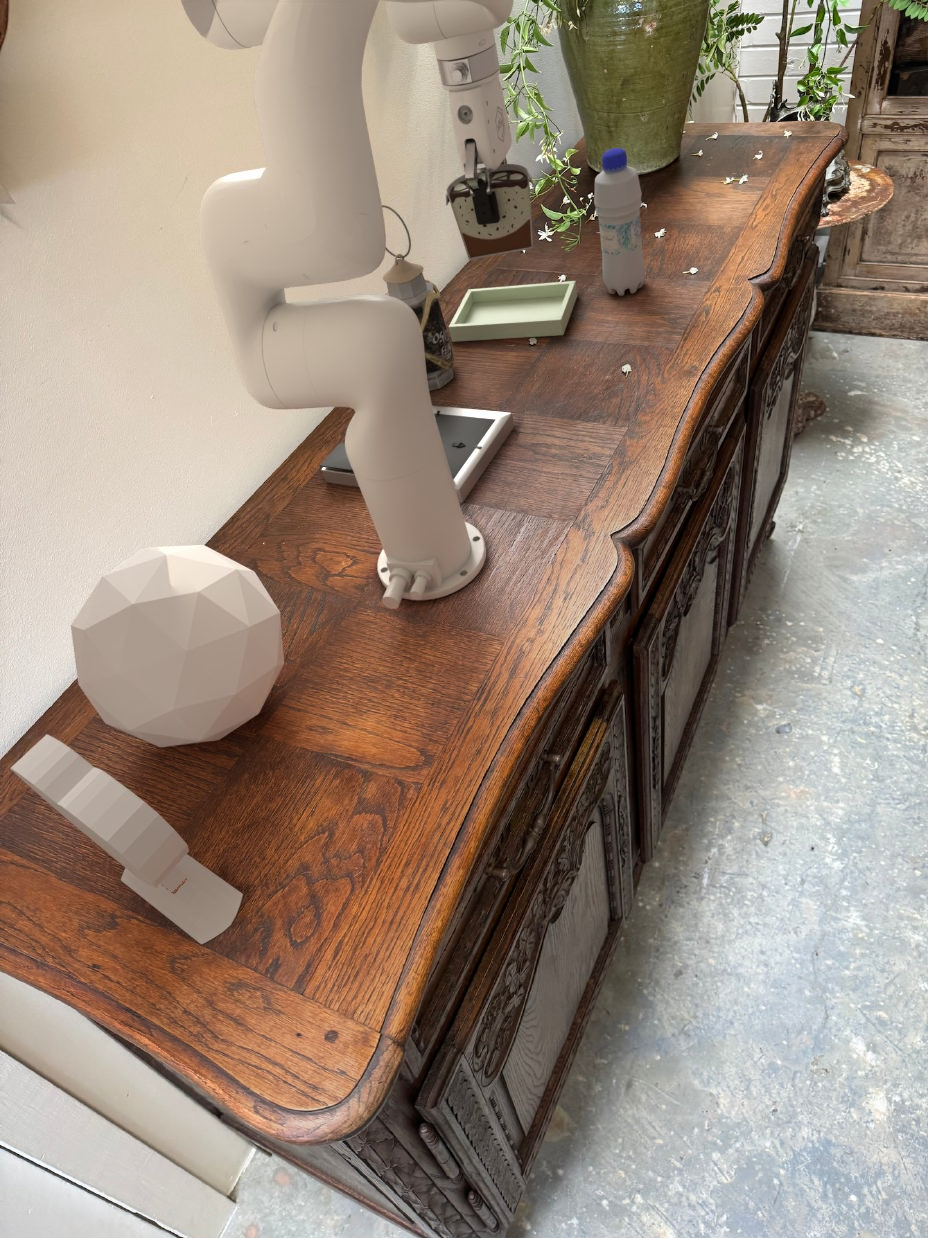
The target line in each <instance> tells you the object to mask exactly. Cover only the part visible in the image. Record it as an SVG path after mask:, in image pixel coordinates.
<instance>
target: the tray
mask: <svg viewBox="0 0 928 1238" xmlns="http://www.w3.org/2000/svg"><path fill="white" fill-rule="evenodd" d="M576 281H577V280H569V281H568V280H567V281H555V282H545V283H544V282H542V283H532V284H531V283H530V284H519V285H506V286H505V285H504V286H496V287H495V286H493V287H482V288H481V287H480V288H469V289H467V291H466V293H465V295H464V296H463V298H462V300H461V302H460V304H459V306H458V308H457V310H456V312H455V313H454V315H453V317H452V319H451V321H450V323H449V325H448V332H449V335H450V336H449V337H450V339H451V340H450V341H451V342H452V343H454V342H455V343H456V342H471V341H487V340H488V341H490V340H502V339H503V340H504V339H505V340H506V339H521V338H537V337H555V336H556V337H557V336H564V334H565V331H566V330H567V326H568V323H569V320H570V317H571V315H572V312H573V309H574V307H575V304H576V301H577V298H578V289H577V282H576Z"/></svg>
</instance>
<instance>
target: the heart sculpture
mask: <svg viewBox="0 0 928 1238" xmlns="http://www.w3.org/2000/svg"><path fill="white" fill-rule="evenodd" d="M9 768H10V769H9V770H11V771H12V772H13V773H14V774H15V775H16V776H17V777H19V779H21V780H22V781H23V782H24V783H25V784H26V785H27V786H28V787H30V788H31V790H33V791H34V792H35V793H36V794H37V795H38V796H39V797H41V798H42V800H44V801H45V802H47V804H49V806H51V807H52V808H54V809H55V810H56V811H57V812H58V813H59V814H61V815H62V816H63V817H64V818H65V819H66V820H67V821H69V822H70V823H71V824H72V825H73V826H74V827H76V828H77V829H78V830H79V831H81V832H82V833H83V834H84V835H85V836H86V837H88V838H89V839H90V840H91V841H92V842H94V843H95V844H96V845H97V846H98V847H100V848H101V849H102V850H103V851H104V852H106V853H107V854H108V855H109V856H111V858H113V859H114V860H115V861H116V862H118V863H119V864H120V865H121V866H123V867H124V870H123V873H122V875H121V878H120V881H121V882H122V883H124V885H126V886H127V887H128V888H130V889H131V890H132V891H133V892H134V893H136V894H137V895H139V896H140V897H141V898H142V899H143V900H145V901H146V902H147V903H148V904H149V905H151V906H152V907H154V908H155V909H156V910H157V911H158V912H159V913H161V914H162V915H164V916H165V917H166V918H167V919H168V920H170V921H172V923H174V924H175V925H176V926H177V927H179V928H180V929H181V930H182V931H184V932H185V933H186V934H188V936H189V937H191V938H192V939H194V940H195V941H196V942H198V943H199V944H200V945H204V944H205V943H207V942H209V941H211V940H213V939H215V938H216V937H217V936H219V935H221V934H222V933H223V932H225V931H226V930H227V929H228V928H229V927H230V926H232V924H233V922H234V920H235V918H236V917H237V915H238V911H239V909H240V906H241V903H242V900H243V896H244V893H242V892H241V891H240V890H238V889H237V888H235V887H234V886H233V885H231V884H229V882H227V881H226V880H224V879H223V878H222V877H220V876H218V875H217V874H216V873H214V872H213V871H212V870H210V869H208V868H207V867H206V866H204V865H203V864H202V863H200V862H199V861H197V860H196V859H195V858H193V857H192V856H191V855H189V854H188V853H189V852H190V849H189V845H188V844H187V842H186V841H185V840H184V839H183V838H182V836H180V834H179V833H178V832H177V830H175V828H173V826H172V825H170V823H169V822H168V821H166V819H165V818H164V817H163V816H162V815H161V814H160V813H158V812H157V811H156V810H155V809H154V808H153V807H151V806H150V805H149V804H148V803H146V802H145V801H144V800H143V799H142V798H140V797H139V796H137V794H135V793H134V792H133V791H131V790H130V789H129V788H127V787H126V786H125V785H123V784H122V783H121V782H119V781H118V780H117V779H116V778H114V777H112V776H111V775H110V774H109V773H107V772H106V771H104V770H102V769H101V768H99V767H95V766H93V765H92V764H91V763H90V762H89V761H87V759H85V758H84V757H82V756H81V755H80V754H79V753H77V751H75V750H73V749H72V748H71V747H69V746H68V745H66V744H65V743H63V742H62V741H60V740H59V739H57V738H55V737H54V736H51V735H49V734H47V733H46V734H45V735H44V736H43V737H42V738H41V739H40V740H39V741H38V742H36V743H35V744H34V745H33V746H32V747H31V748H30V749H29V750H28V751H27V752H26V753H25V754H24V755H23V756H22V757H21V758H20V759H18V760H17V761H16V762H15V763H14V764H13V765H12V766H11V767H9ZM186 878H188V879H187V880H186V881H185V883H184V884H183V885H182V886H181V887H180V888H179V889H178V891H177V892H176V893H175V894H173V893H171V892H173V891H174V890H175V889H177V887H178V886H179V885H180V884H181V883H182V881H184V879H186ZM162 885H163V886H162ZM166 888H167V889H168V890H167V889H166Z"/></svg>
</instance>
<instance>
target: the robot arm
mask: <svg viewBox="0 0 928 1238" xmlns="http://www.w3.org/2000/svg"><path fill="white" fill-rule="evenodd" d="M383 1H384V4H385V12H386V16H387V17H386V18H387V20H388V23H389V26H390V27H391V30H392V32H393V33H394V34H395V35H396V36H397V37H398V38H399V39H400V40H401V41H403V42H404V43H407V44H409V45H410V44H411V45H423V44H429V43H433V44H432V45H433V48H434V52H435V57H436V63H437V67H438V72H439V77H440V82H441V88H442V89H443V90H446V91H448V99H449V107H450V115H451V119H452V120H451V121H452V126H453V133H454V139H455V145H456V150H457V155H458V159H459V164H460V167H461V169H462V171H463V172H464V174H465V180H466V181H467V183H468V185H469V188H470V193H471V196H472V199H473V204H474V209H475V214H476V219H477V223H478V224H479V225H483V224H493V223H498V222H499V221H500V215H499V210H498V204H497V199H496V193H495V191H492V179H491V168H492V170H496V169H497V168H498V167H499V166H500V164H508V159H507V154H508V153H509V150H510V149H511V147H512V144H513V138H512V133H511V127H510V121H509V116H508V111H507V107H506V102H505V98H504V97H505V96H504V94H503V93H504V92H503V89H502V88H503V87H502V86H501V81H500V74H501V69H500V62H499V56H498V50H497V43H496V39H495V32H494V29H498V28H499V27H501V26H503V25H504V24H505V23H506V22H507V21H508V20H509V18H510V16H511V13H512V10H513V6H514V0H383ZM180 2H181V5H182V7H183V10H184V12H185V14H186V16H187V18H188V20H189V22H191V25H192V26H193V27H194V29H195V30H196V31H197V32H198V34H199V35H200V36H202V38H204V40H206V42H208V43H210V44H212V45H213V46H216V47H217V48H221V49H224V50H231V51H232V50H244V49H250V48H253V47H258V46H261V47H260V50H259V53H258V57H257V61H256V66H255V74H254V81H253V101H254V102H253V103H254V109H255V112H256V116H257V121H258V126H259V130H260V136H261V140H262V144H263V149H264V155H265V162H266V165H265V167H261V168H254V169H249V170H248V169H247V170H243V171H238V172H233V173H228V174H226V175H225V176H222V177H219V178H218V179H216V180H215V181H213V183H211V184H210V185H209V187H208V188H207V189H206V191H205V193H204V195H203V197H202V199H201V204H200V208H199V217H198V233H199V242H200V249H201V253H202V257H203V262H204V265H205V268H206V272H207V275H208V279H209V282H210V285H211V289H212V293H213V295H214V299H215V302H216V306H217V308H218V312H219V315H220V318H221V321H222V325H223V328H224V332H225V335H226V338H227V341H228V345H229V348H230V352H231V355H232V358H233V361H234V365H235V367H236V371H237V374H238V375H239V378H240V380H241V382H242V385H243V386H244V388H245V391H247V393H248V394H249V396H250V397H251V398H252V399H253V400H254V401H255V402H256V403H258V404H259V405H260V406H262V407H264V408H268V409H271V410H303V409H304V410H305V409H317V408H318V409H319V408H349V409H352V410H354V414H353V415H352V418H351V420H350V422H349V423H348V426H347V429H346V431H345V436H344V442H345V449H346V454H347V457H348V460H349V462H350V465H351V467H352V469H353V472H354V474H355V477H356V479H357V482H358V485H359V487H358V488H359V490H360V493H361V494H362V498H363V500H364V503H365V505H366V508H367V510H368V514H369V515H370V518H371V521H372V524H373V526H374V528H375V531H376V533H377V536H378V538H379V541H380V544H381V547H382V549H381V551H380V553H379V556H378V558H377V563H376V566H377V567H376V568H377V573H378V577H379V580H380V581H381V584H382V585H383V586H384V588H385V589H386V590H385V591H384V594H383V596H382V598H381V603H382V605H383V606H384V607H385V608H387V609H391V610H395V609H398V608H399V606H400V604H401V602H402V599H405V600H411V601H430V600H435V599H439V598H443V597H446V596H448V595H451V594H453V593H456V592H457V591H459V590H461V589H463V588H465V586H467V585H468V584H469V583H471V582H472V581H473V580H474V579H475V577H477V576H478V574H479V573H480V572H481V571H482V569H483V567H484V566H485V565H484V564H485V562H486V559H487V546H486V542H485V539H484V536H483V534H482V532H481V531H480V530H479V529H478V528H477V527H476V526H474V525H473V524H471V523H469V522H467V521H466V520H465V518H464V515H463V511H462V507H461V502H459V500H458V496H457V493H456V489H455V486H454V482H453V479H452V475H451V472H450V468H449V465H448V461H447V458H446V454H445V451H444V447H443V443H442V440H441V437H440V433H439V430H438V426H437V423H436V419H435V415H434V411H433V407H432V406H433V403H432V399H431V394H430V391H429V387H428V381H427V373H426V363H425V352H424V342H423V335H422V331H421V327H420V323H419V320H418V318H417V316H416V314H415V313H414V311H413V310H412V309H411V308H410V307H409V306H408V305H407V304H406V303H404V302H403V301H401V300H399V299H397V298H394V297H391V296H387V295H385V294H379V293H378V294H377V293H360V294H359V293H358V294H351V295H342V296H341V295H340V296H334V297H324V298H317V299H311V300H302V301H301V300H300V301H292V302H287V299H286V291H285V289H289V288H290V289H291V288H299V287H308V286H316V285H324V284H333V283H339V282H345V281H350V280H355V279H359V278H362V277H365V276H367V275H370V274H372V273H373V272H375V271H376V270H377V269H378V268H379V267H380V266H381V265H382V262H383V261H384V259H385V255H386V252H387V251H386V248H387V235H386V233H387V232H386V223H385V217H384V210H383V207H382V205H383V204H382V199H381V193H380V188H379V182H378V177H377V171H376V166H375V165H376V164H375V160H374V155H373V151H372V149H373V148H372V144H371V139H370V134H369V128H368V124H367V118H366V113H365V104H364V97H363V88H362V84H363V83H362V80H363V79H362V78H363V77H362V76H363V64H364V57H365V49H366V45H367V41H368V36H369V33H370V29H371V27H372V23H373V20H374V17H375V13H376V11H377V8H378V5H379V4H380V0H180ZM478 165H484V167H486V168H483V167H480V168H478ZM479 174H485V182H484V180H483V179H482V178H479Z"/></svg>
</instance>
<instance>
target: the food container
mask: <svg viewBox="0 0 928 1238" xmlns="http://www.w3.org/2000/svg"><path fill="white" fill-rule="evenodd" d="M482 168H486V167H485V166H484V167H482ZM479 178H482V179H483V180H484V182H485V174H479ZM491 179H492V191H495V193H496V199H497V204H498V210H499V215H500V221H499V222H498V223H493V224H483V225H479V224H478V223H477V219H476V214H475V209H474V204H473V199H472V196H471V193H470V188H469V185H468V183H467V181H466V180H465V173H464V174H462V175H461V176H459V177H457V178H455V179H454V180H453V181H451V182H450V183H449V184H448V186H447V187H446V193H445V206H448V205H449V204H450V206H451V210H452V213H453V216H454V219H455V222H456V225H457V228H458V231H459V235H460V236H461V240H462V243H463V247H464V249H465V252H466V256H467V259H468V261H471V260H478V259H483V258H489V257H494V256H499V255H505V254H511V253H516V252H522V251H529V250H533V249H534V238H533V237H534V235H533V219H532V201H531V200H532V199H531V187H530V186H532V188H533V189H536V187H535V183H534V180H533V177H532V175H531V173H530V172H529V170H528V168H527V167H526V166H524V165H521V164H517V163H507V164H500V166H499V167H498V168H497V169H496V170H492V168H491ZM530 184H531V185H530Z"/></svg>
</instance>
